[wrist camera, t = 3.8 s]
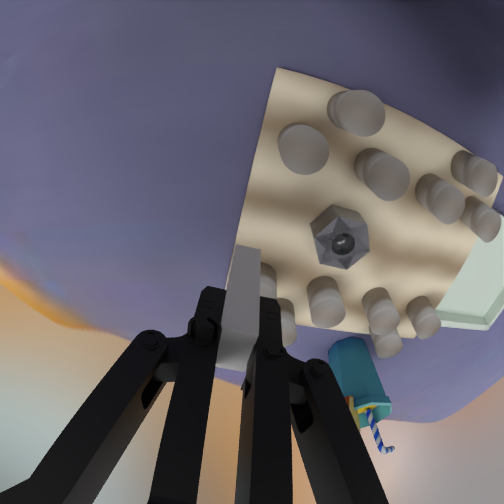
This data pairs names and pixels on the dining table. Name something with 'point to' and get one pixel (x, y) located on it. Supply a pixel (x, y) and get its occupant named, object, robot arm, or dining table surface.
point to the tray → (476, 287)
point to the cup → (360, 385)
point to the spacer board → (361, 211)
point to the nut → (340, 237)
